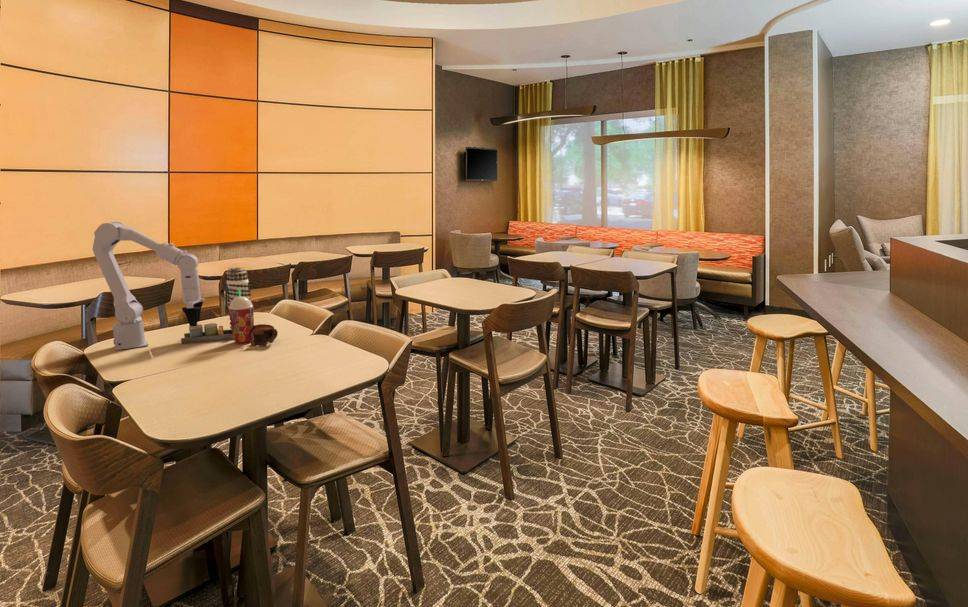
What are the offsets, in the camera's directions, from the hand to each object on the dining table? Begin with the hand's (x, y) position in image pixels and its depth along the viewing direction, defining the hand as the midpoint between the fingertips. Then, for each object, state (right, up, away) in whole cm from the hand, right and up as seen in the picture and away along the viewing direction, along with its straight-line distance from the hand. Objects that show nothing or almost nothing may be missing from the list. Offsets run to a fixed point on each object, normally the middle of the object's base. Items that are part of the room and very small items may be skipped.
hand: (194, 323), depth 198 cm
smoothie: (+19, -7, -1) cm, 20 cm away
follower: (+8, -6, +4) cm, 11 cm away
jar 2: (+5, -6, +3) cm, 8 cm away
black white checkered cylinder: (+10, -3, +17) cm, 20 cm away
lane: (+4, -6, +3) cm, 8 cm away
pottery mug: (+27, -7, -2) cm, 28 cm away
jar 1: (0, -6, +1) cm, 6 cm away
